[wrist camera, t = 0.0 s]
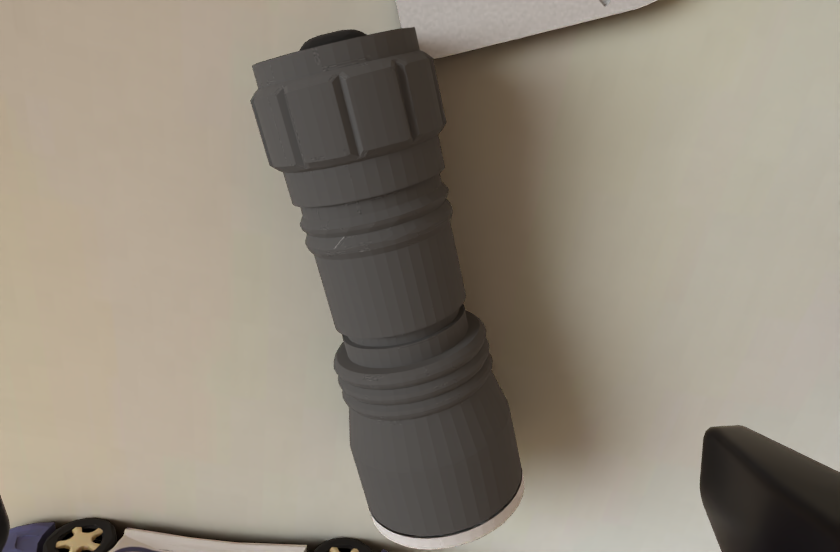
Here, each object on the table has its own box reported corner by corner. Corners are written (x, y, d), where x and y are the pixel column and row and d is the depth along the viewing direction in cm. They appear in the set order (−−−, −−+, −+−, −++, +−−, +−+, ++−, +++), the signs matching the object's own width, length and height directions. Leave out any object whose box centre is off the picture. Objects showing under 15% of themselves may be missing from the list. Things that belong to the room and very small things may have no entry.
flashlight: (259, 56, 20) (202, 58, 15) (426, 14, 20) (425, 2, 15) (377, 459, 25) (364, 563, 20) (513, 434, 25) (535, 533, 20)
